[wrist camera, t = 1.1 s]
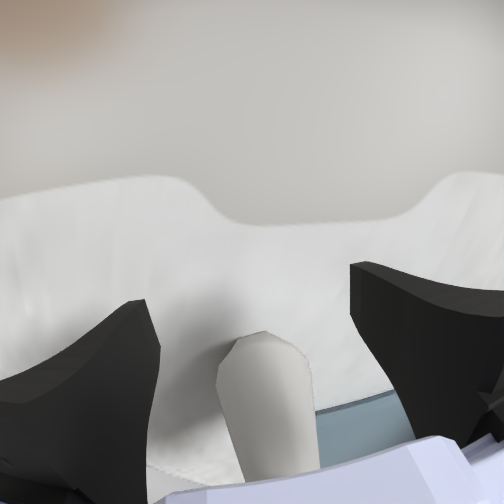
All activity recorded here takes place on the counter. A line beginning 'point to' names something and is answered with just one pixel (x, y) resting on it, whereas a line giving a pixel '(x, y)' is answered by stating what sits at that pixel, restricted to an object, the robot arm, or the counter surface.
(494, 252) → the counter surface
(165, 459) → the counter surface
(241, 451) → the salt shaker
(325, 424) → the tray
